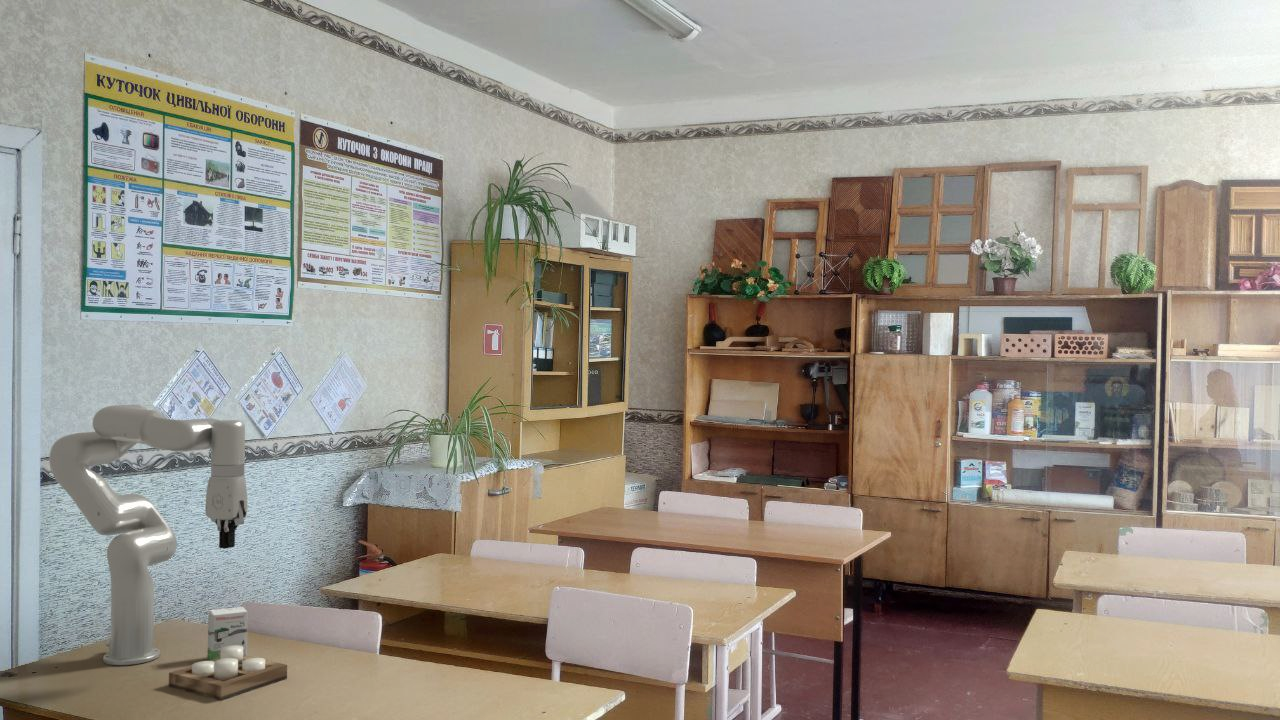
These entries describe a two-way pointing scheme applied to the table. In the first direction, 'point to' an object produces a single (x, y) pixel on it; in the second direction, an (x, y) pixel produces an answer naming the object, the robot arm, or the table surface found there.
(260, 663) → the button
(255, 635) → the table surface
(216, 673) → the button
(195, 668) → the button
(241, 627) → the ink box
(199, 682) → the button board
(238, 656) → the button
